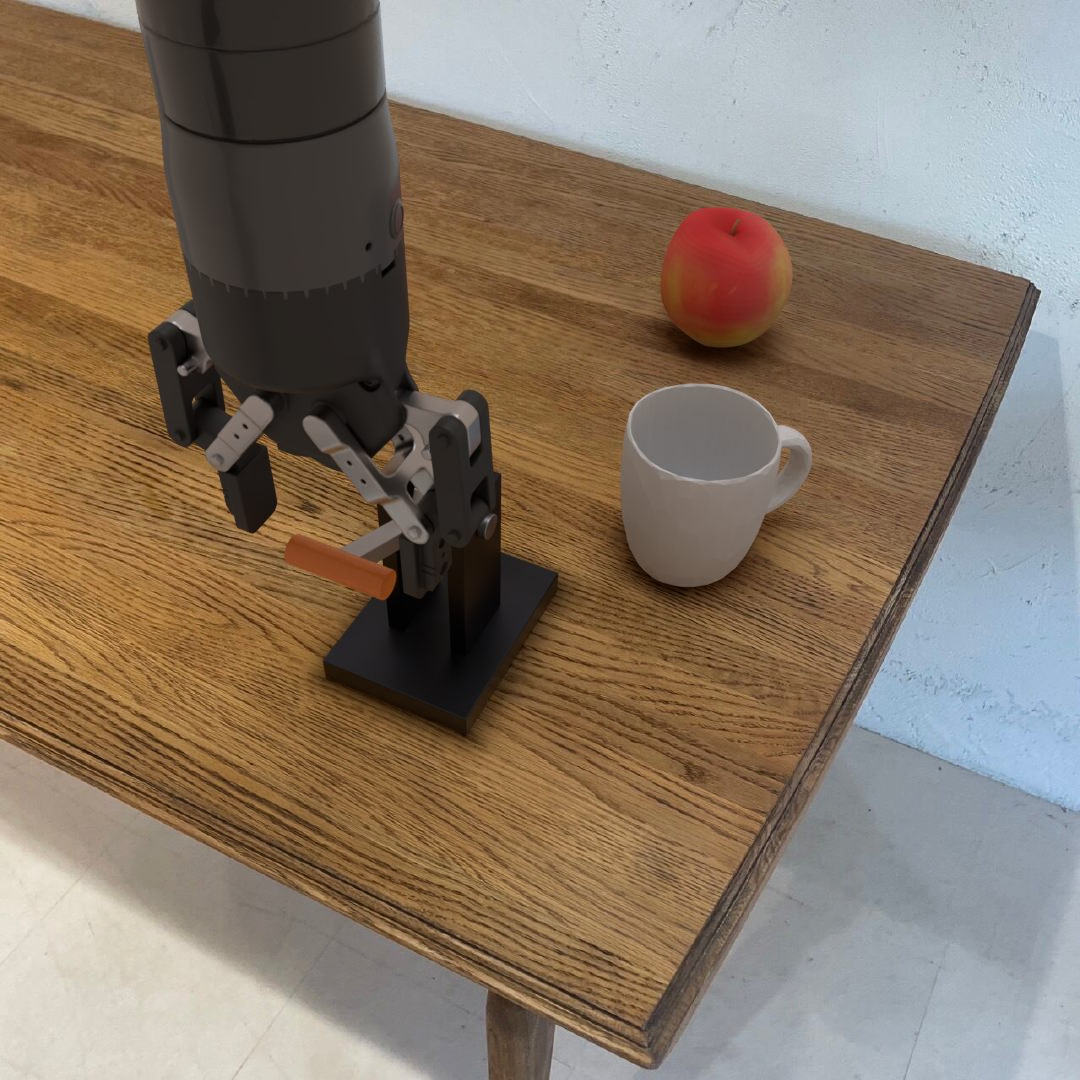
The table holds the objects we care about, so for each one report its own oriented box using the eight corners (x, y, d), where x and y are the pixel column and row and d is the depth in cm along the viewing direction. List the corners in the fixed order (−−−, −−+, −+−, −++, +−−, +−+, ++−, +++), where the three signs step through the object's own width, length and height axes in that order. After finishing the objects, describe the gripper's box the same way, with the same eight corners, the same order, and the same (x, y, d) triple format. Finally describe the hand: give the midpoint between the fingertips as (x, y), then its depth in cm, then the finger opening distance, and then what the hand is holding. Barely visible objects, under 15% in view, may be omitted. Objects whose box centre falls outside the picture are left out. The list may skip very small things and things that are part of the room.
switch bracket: (466, 736, 62) (462, 590, 53) (325, 677, 64) (299, 529, 56) (558, 589, 70) (567, 441, 61) (428, 541, 72) (420, 393, 64)
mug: (655, 622, 68) (675, 500, 61) (588, 525, 73) (598, 403, 66) (831, 561, 72) (869, 440, 65) (754, 473, 78) (781, 353, 70)
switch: (376, 614, 50) (384, 565, 49) (280, 576, 51) (287, 528, 51) (489, 537, 61) (498, 496, 60) (407, 508, 62) (415, 467, 61)
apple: (696, 386, 84) (715, 268, 77) (630, 318, 90) (642, 203, 83) (802, 353, 87) (829, 237, 80) (732, 290, 93) (751, 176, 86)
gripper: (49, 222, 38) (154, 554, 50) (421, 337, 34) (440, 669, 46) (189, 130, 43) (254, 452, 55) (528, 221, 39) (521, 548, 51)
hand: (339, 551), depth 50 cm, fingers open, 8 cm apart
